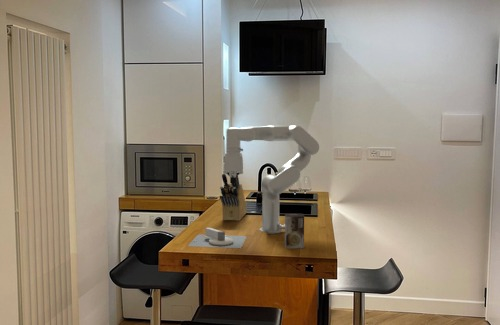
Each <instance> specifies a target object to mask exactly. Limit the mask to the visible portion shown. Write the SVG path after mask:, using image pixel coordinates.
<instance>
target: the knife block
mask: <svg viewBox="0 0 500 325" xmlns="http://www.w3.org/2000/svg"><path fill="white" fill-rule="evenodd" d="M234 173H235V172H232V175H233V177H234ZM221 179H222V181H223V184H224V185H223V186H220V187H219V189H220V193H221V195H219V200H220V202H221V205H222V206H221V208H222V209H221V211H222V220H223V221H238V222H239V221H241V219H242V218H243V217H244V216H245V215H246V214H247V211H248V208H247V207H248V206H247V203H246V198H245V193H244V190H243V185H242V184H241V183H240V180H239V179H240V178H239V175H238V176H237V177H236V183H235V185H231V183H228V177H227V174H224V173H222V174H221Z"/></svg>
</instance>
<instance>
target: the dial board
mask: <svg viewBox="0 0 500 325" xmlns="http://www.w3.org/2000/svg"><path fill="white" fill-rule="evenodd" d="M225 237H228V238H232V239H233V243H232V244H230V245H212V244H210V243H209V239H211V237H208V236H205V234H197V235H196V236H195V237H194V238H193V240H191V241H190V242H189V244H188V245H187V247H197V248H198V247H199V248H200V247H201V248H223V249H224V248H227V249H242V247H243V245H244V243H245V241H246V240H247V237H248V236H246V235H226V234H225Z"/></svg>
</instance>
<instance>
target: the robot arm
mask: <svg viewBox="0 0 500 325" xmlns="http://www.w3.org/2000/svg"><path fill="white" fill-rule="evenodd" d="M225 139H226V146H225V147H226V149H225V150H226V152H224V159H223V173H222V174H225V175H227V176H229V178H230V179H229V180H230V183H229V184H231V185H235V183H236V177H237V176H238V177H239V175H243V174H244V170H243V169H244V160H243V153H241V152H243V151H244V149H243V148H241V142H248V143H249V142H252V141H265V142H287V141H288V142H291V141H293V142H295V143H296V144H297V153H296V155H295V156H294V157H293V158H291V159H290V160H288V161H287V162H286V163H285V164H283V165H281V166H280V167H279V169H278V171H277V174H276V175H273V174H267V175H265V176H264V177H263V179H262V181H261V195H262V196H261V197H262V200H261V201H262V202H261V203H262V205H261V213H262V214H261V227H260V228H259V230H258V231H259V232H263V233H264V232H265V233H266V232H267V233H266V234H267V235H268V234H269V235H270V234H273V235H274V234H280V233H282V232H283V230H285V224H281V223H280V195H281V194H282V193H284V192H285V191H286V190H288V189H289V188H290V187H292V186H293V185H295V184H296V183H297V182H299V179H300V178H301V172H302V171H303V170H305V169H306V168H307V167H308V165H309V163H310V162H311V157H312V156H314V155H317V154H318V152H319V150H320V144H319V142H318V141H317V140H316V139H315V138H314V137H313V136H312V135H311V134H310V133H309V132H308V131H307V130H305V129H304V128H303V127H302V126H300V125H295V124H293V125H290V124H289V125H285V124H284V125H265V126H243V127H240V128H239V127H228V128H227V129H226V138H225ZM232 172H235V173H234V177H233V174H232Z"/></svg>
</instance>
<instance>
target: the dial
mask: <svg viewBox="0 0 500 325" xmlns="http://www.w3.org/2000/svg"><path fill="white" fill-rule="evenodd" d="M204 233H205V234H204V235H205V236H208V237H211V239H209V243H210V244H212V245H230V244H232V243H233V239H232V238H228V237H225V235H226V231H222V230H219V229H215V228H212V227H205V232H204Z"/></svg>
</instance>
